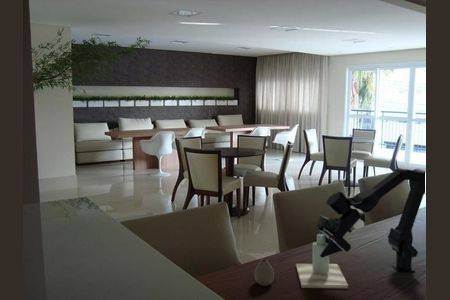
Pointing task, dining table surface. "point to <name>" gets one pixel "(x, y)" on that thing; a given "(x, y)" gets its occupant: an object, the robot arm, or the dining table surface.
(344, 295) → the dining table surface
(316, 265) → the oil bottle
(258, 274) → the vase
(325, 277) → the birch board
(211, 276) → the dining table surface
